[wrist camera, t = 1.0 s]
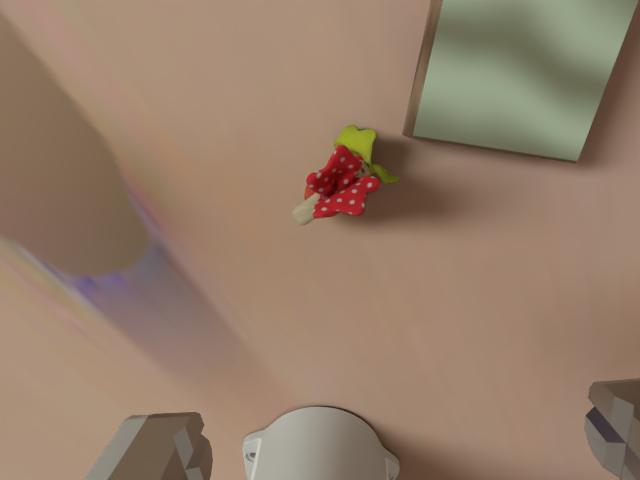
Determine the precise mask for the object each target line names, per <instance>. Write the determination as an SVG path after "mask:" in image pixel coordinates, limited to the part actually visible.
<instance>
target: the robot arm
mask: <svg viewBox="0 0 640 480" xmlns="http://www.w3.org/2000/svg"><path fill="white" fill-rule="evenodd" d="M588 399H589V400H590V401H591V402H592V403H593V404H594V407H593V408H592V409H591V410H590V411H589V412H588V413H587V414H586V416H585V428H584V429H585V433H586V437H587V440H588V444H589V446H590V448H591V450H592V452H593V454H594V455H595V457H596V458H597V460H598V461H599V463H600V464H601V465H602V467H603V468H605V469H606V470H608V471H609V472H611V473H613V474H614V475H616V476H617V477H619V478H620V480H640V378H637V379H625V380H613V381H601V382H594V383H593V384H592V385H591V387H590V388H589V394H588ZM203 427H204V423H203V420H202V418H201V415H200V413H197V412H185V413H164V414H152V415H132V416H130V417H129V418H127V419H126V420H124V422H123V423H122V425H121V426H120V427H119V429H118V430H117V432H116V433H115V435H114V436H113V438H112V439H111V441H110V442H109V444H108V445H107V447H106V448H105V450H104V451H103V453H102V454H101V456H100V457H99V459H98V460H97V461H96V463H95V464H94V466H93V467H92V469H91V470H90V472H89V473H88V475H87V476H86V478H85V479H84V480H210V477H211V470H212V462H213V458H212V448H211V445H210V442H209V440H208V439H207V438H205V437H204V436H203V435H202V434H201V432H202V429H203ZM242 450H243V456H244V462H245V469H246V475H247V480H395V479H396V477H397V476H398V474H399V472H400V465H399V460H398V459H397V458H396V457H395V456H394V455H393V454H392V453H390V452H389V451H388V450H386V449H385V448H384V447H383V446H382V444H381V443H380V441H379V439H378V437H377V435H376V434H375V432H374V431H373V430H372V429H371V427H370V426H369V425H368V424H366V423H365V422H364V421H363V420H361V419H360V418H358V417H356V416H355V415H353V414H350V413H348V412H345V411H343V410H339V409H335V408H329V407H307V408H302V409H298V410H294V411H291V412H289V413H287V414H285V415H283V416H281V417H280V418H278V419H277V420H276V421H275V422H273V423H272V424H271V425H270V426H269V427H267V428H266V429H264V430H261V431H258V432H255V433H252V434H250V435H248V436H246V437H245V438H244V441H243V447H242Z"/></svg>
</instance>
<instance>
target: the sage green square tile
mask: <svg viewBox="0 0 640 480" xmlns="http://www.w3.org/2000/svg"><path fill="white" fill-rule="evenodd" d="M638 1H639V0H431V4H430V9H429V13H428V18H427V22H426V27H425V32H424V36H423V41H422V46H421V50H420V55H419V60H418V64H417V69H416V74H415V78H414V83H413V88H412V92H411V97H410V101H409V106H408V111H407V115H406V120H405V125H404V129H403V135H405V136H407V137H410V138H416V139H423V140H429V141H435V142H442V143H448V144H455V145H461V146H467V147H474V148H480V149H487V150H493V151H499V152H506V153H512V154H519V155H525V156H531V157H538V158H544V159H551V160H557V161H563V162H570V163H576V161H578V159H579V156H580V154H581V151H582V148H583V146H584V143H585V140H586V138H587V135H588V132H589V130H590V127H591V125H592V122H593V119H594V117H595V114H596V111H597V109H598V106H599V104H600V101H601V98H602V96H603V93H604V90H605V88H606V85H607V82H608V80H609V77H610V75H611V72H612V69H613V67H614V64H615V61H616V59H617V56H618V54H619V51H620V48H621V46H622V43H623V40H624V38H625V35H626V32H627V30H628V27H629V25H630V22H631V19H632V17H633V14H634V11H635V9H636V6H637V4H638Z"/></svg>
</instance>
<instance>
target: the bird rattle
mask: <svg viewBox="0 0 640 480" xmlns="http://www.w3.org/2000/svg"><path fill="white" fill-rule="evenodd" d="M376 137H377V134H376V131H375V130H372V129H365V130H362V131H359V129H358V127H357V126H355V125H351V126H347V127H345V128H344V129H343V131H342V132H341V134H340V135H339V137H338V139H337V140H336V141H335V142H334V146H335V151H334V153H333V155H332V156H331V158H330V160H329V161H328V163H327V166H326V167H325V168H323V169H322V170H319V171H315V172H313V173H311V174H310V175H309V176H308V177H307V180H306V182H307V187H306V190H305V201H304V202H302V203H301V204H300V205H298V206H297V207H296V208H295V209H294V210H293V212H292V217H293V218H294V220H295V221H296V222H297V223H298V224H299V225H305V224H307V223H309V222H311V221H312V220H314V219H315V218H324V217H332V216H334V215H336V214H338V213H339V212H343V213H345V214H348V215H353V216H358V215H361V214H363V213H364V210H365V203H366V198H367V195H368V194H369V193H371V192H373V191H375V190H377V189H379V188H380V182H379V179H378V178H376V177H373V176H371V174H374V173H377V175H378V176H379V178H380V180H381V181H382V182H383V183H384V184H387V183H388V182H389V183H394V182H396V181H398V180H399V178H398V177H397V176H395V175H390V174H389V173H388V172H387V171H386V170H384V169H383V167H382V166H380V165H378V164H376V163H372V162H371V154H372V144H373V142H374V140H375V139H376Z"/></svg>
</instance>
